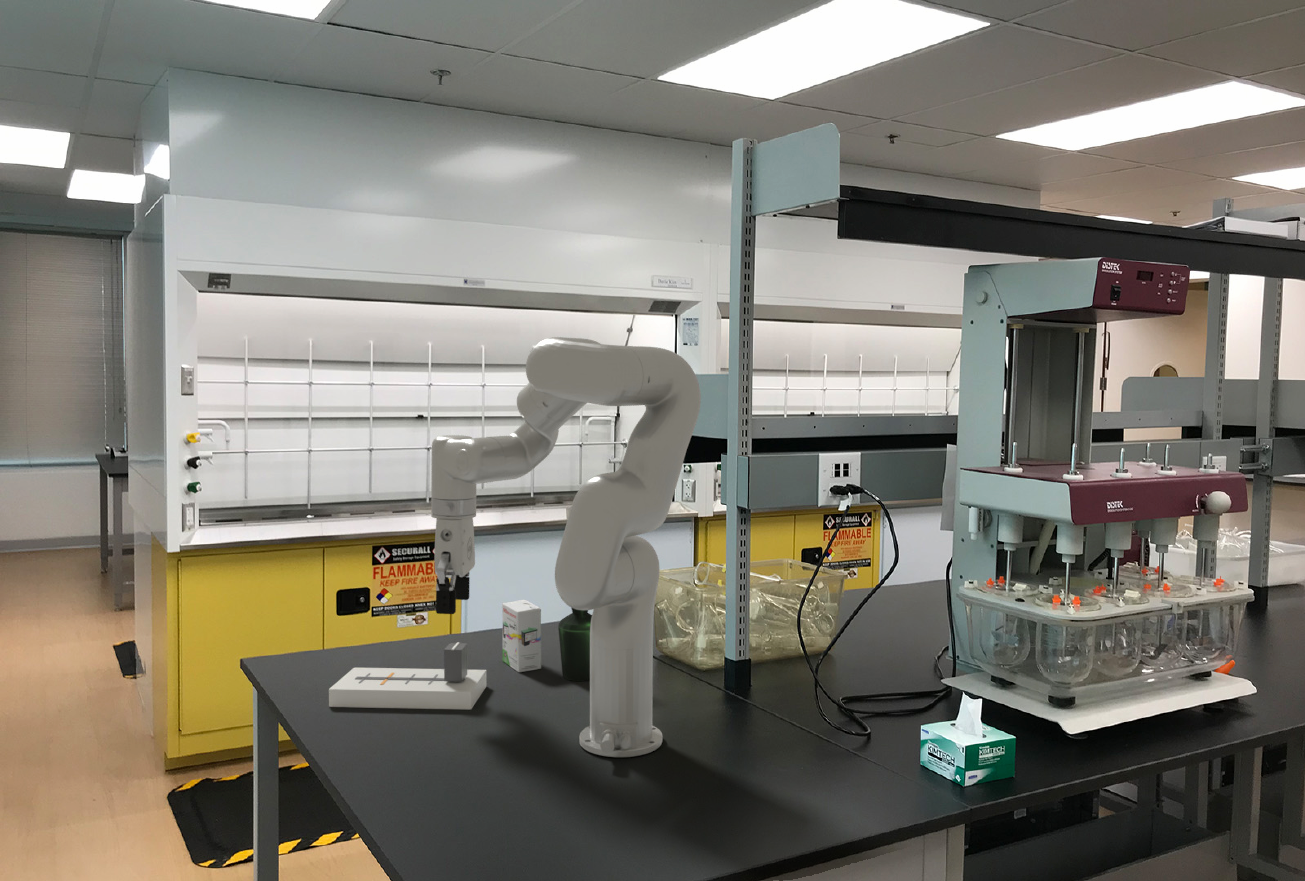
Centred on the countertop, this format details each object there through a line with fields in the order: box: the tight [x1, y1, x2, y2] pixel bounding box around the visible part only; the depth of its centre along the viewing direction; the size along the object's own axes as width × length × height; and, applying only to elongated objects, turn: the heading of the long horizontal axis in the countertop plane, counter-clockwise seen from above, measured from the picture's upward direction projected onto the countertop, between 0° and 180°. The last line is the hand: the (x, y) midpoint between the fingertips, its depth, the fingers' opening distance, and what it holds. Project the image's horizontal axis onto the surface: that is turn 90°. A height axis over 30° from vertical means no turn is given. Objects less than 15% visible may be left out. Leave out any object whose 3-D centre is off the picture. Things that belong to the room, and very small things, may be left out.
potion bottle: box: [557, 607, 592, 682], centre depth 176 cm, size 8×8×18 cm
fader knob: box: [443, 641, 468, 682], centre depth 164 cm, size 4×3×6 cm
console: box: [328, 667, 487, 710], centre depth 165 cm, size 12×24×3 cm, turn 88°
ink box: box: [501, 599, 542, 673], centre depth 183 cm, size 8×5×12 cm, turn 30°
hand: (453, 606), depth 164 cm, fingers open, 9 cm apart
